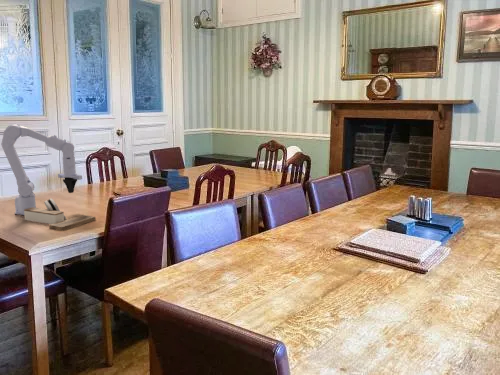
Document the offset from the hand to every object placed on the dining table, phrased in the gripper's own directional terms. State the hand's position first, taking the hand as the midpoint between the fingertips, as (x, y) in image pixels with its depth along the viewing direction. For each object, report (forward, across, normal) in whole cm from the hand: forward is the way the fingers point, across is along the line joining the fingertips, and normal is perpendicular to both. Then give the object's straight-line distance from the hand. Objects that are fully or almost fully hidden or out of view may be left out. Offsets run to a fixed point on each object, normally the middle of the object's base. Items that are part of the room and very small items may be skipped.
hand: (71, 192), depth 237 cm
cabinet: (+9, -4, +21) cm, 23 cm away
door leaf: (+9, -20, +19) cm, 29 cm away
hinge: (+10, -2, +13) cm, 16 cm away
